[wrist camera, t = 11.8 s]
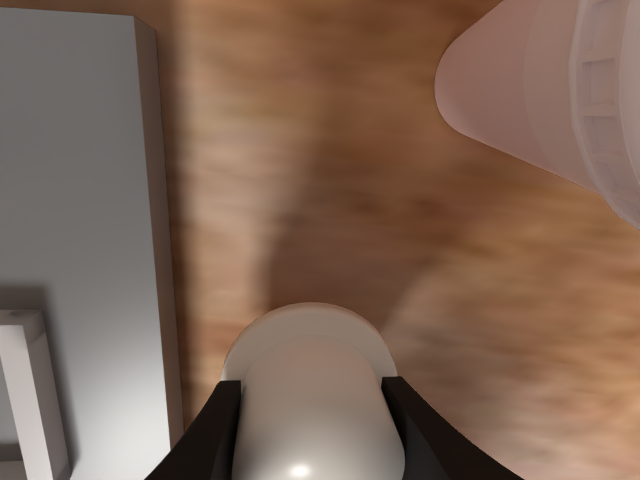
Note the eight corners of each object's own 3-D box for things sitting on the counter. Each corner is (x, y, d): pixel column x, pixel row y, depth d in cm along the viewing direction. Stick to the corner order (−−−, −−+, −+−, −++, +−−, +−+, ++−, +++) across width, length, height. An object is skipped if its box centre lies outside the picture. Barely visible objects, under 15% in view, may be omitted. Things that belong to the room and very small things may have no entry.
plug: (375, 420, 16) (417, 548, 11) (227, 425, 15) (206, 563, 11) (389, 286, 14) (446, 372, 10) (224, 286, 14) (197, 377, 9)
